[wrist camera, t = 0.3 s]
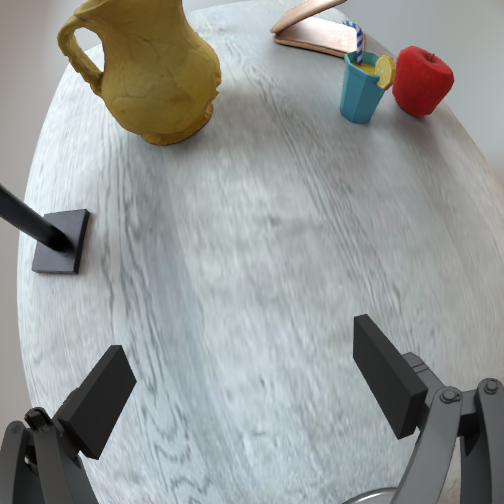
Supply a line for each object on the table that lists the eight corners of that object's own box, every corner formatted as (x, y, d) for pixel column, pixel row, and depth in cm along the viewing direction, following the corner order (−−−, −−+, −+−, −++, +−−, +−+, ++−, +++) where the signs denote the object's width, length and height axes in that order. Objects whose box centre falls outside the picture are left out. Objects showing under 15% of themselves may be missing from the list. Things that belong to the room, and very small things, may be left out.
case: (288, 17, 53) (290, -30, 38) (365, 35, 50) (376, -12, 35) (266, 44, 47) (266, -18, 32) (362, 66, 44) (378, 5, 29)
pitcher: (194, 168, 35) (132, -11, 12) (103, 147, 39) (33, 31, 16) (245, 95, 41) (229, -43, 17) (158, 86, 44) (122, -21, 21)
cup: (312, 88, 41) (323, 15, 27) (348, 83, 42) (365, 18, 28) (355, 143, 37) (385, 63, 22) (392, 135, 37) (426, 65, 23)
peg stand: (78, 274, 31) (-3, 229, 17) (36, 272, 31) (-37, 234, 17) (90, 212, 34) (27, 150, 20) (48, 217, 34) (-13, 166, 20)
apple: (437, 112, 40) (464, 64, 27) (423, 133, 38) (456, 78, 25) (395, 83, 43) (414, 32, 30) (375, 99, 40) (396, 40, 28)
